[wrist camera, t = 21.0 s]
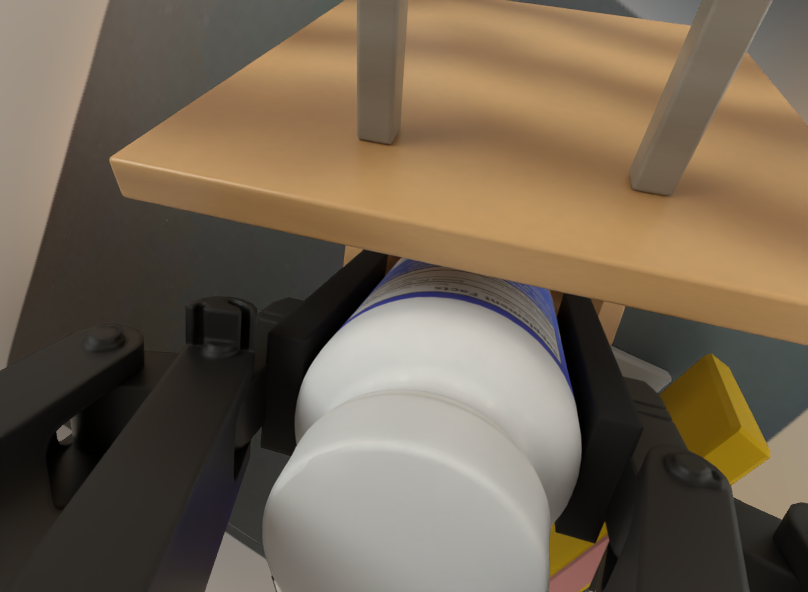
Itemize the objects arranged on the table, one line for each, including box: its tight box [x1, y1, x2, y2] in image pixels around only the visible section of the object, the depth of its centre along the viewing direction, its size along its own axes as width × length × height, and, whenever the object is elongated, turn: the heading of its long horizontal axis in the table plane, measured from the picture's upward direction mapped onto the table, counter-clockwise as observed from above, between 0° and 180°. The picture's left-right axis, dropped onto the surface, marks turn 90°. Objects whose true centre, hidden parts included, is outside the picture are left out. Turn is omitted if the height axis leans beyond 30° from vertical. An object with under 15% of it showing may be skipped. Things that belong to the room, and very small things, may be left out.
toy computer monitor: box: [549, 346, 770, 592], centre depth 30 cm, size 20×8×16 cm, turn 146°
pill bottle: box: [262, 258, 582, 592], centre depth 11 cm, size 5×5×10 cm
